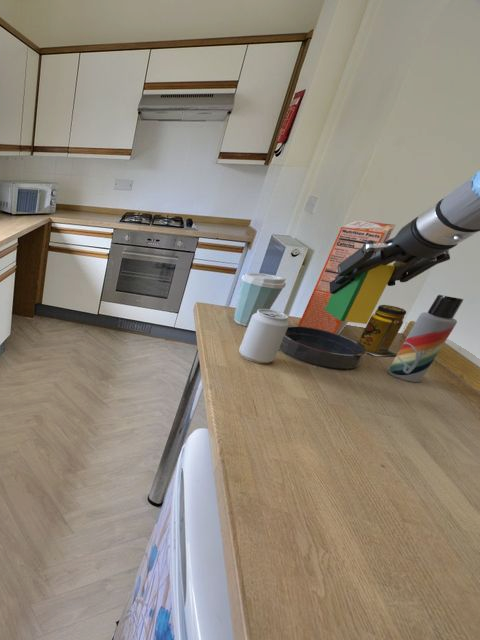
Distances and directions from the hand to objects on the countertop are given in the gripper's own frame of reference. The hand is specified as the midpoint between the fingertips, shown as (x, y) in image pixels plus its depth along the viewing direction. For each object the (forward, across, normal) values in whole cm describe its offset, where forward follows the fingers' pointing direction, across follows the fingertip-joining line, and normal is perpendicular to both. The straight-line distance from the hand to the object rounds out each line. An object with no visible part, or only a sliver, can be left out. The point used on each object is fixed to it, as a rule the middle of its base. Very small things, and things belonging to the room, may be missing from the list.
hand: (346, 289), depth 94 cm
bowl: (+16, +2, -10) cm, 19 cm away
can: (+10, -14, -16) cm, 24 cm away
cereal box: (+29, +12, +3) cm, 31 cm away
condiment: (+22, +19, -4) cm, 29 cm away
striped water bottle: (+11, +17, -15) cm, 25 cm away
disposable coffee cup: (+28, -9, +2) cm, 29 cm away
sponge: (+1, 0, -6) cm, 7 cm away
